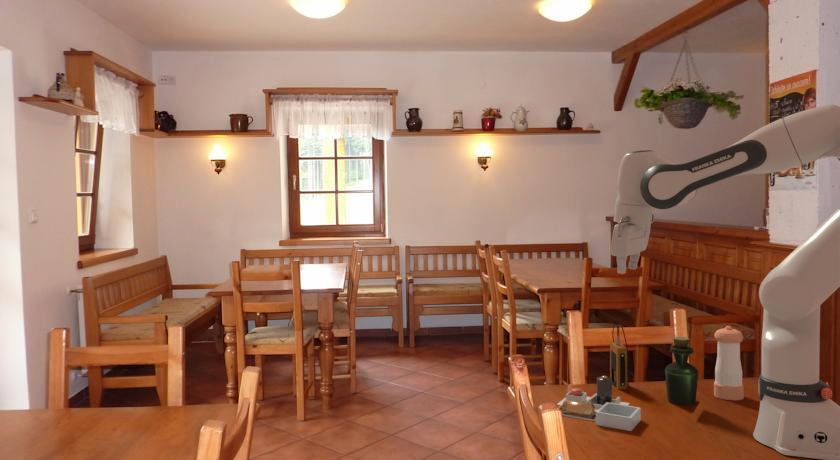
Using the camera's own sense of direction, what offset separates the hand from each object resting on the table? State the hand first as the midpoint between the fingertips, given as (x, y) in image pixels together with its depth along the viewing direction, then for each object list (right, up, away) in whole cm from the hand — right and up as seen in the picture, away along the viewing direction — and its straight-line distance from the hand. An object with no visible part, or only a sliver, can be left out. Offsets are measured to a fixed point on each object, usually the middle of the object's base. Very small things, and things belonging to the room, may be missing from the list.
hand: (626, 271), depth 158 cm
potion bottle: (+16, -36, +6) cm, 40 cm away
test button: (-11, -34, +9) cm, 36 cm away
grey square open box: (-4, -37, -7) cm, 38 cm away
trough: (-13, -37, -1) cm, 39 cm away
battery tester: (-7, -36, +6) cm, 37 cm away
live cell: (-12, -36, -1) cm, 38 cm away
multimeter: (+8, -35, +21) cm, 42 cm away
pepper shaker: (+32, -35, +14) cm, 49 cm away
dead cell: (-4, -35, +4) cm, 35 cm away
